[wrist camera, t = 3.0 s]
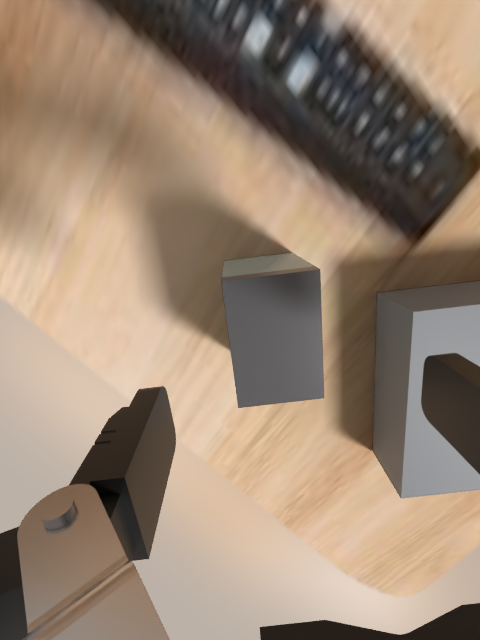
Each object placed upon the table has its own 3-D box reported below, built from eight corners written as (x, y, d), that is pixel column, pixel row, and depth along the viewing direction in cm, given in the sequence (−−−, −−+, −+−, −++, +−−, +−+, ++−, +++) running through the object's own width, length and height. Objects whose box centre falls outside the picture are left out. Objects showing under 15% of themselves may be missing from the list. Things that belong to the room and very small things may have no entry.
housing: (224, 260, 18) (221, 281, 13) (292, 252, 18) (320, 269, 13) (236, 353, 20) (238, 407, 14) (298, 346, 20) (324, 398, 14)
